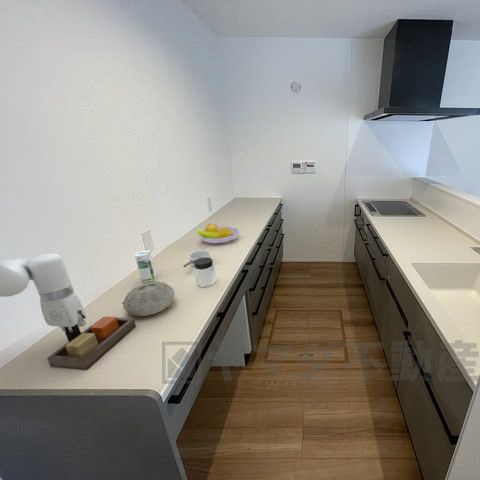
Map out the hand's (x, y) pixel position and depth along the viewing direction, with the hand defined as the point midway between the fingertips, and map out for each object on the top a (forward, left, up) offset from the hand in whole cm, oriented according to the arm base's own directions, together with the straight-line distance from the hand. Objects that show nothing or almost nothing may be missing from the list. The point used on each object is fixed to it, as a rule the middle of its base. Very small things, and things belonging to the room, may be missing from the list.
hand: (75, 338), depth 89 cm
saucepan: (+9, +60, -2) cm, 60 cm away
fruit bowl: (+2, +101, -2) cm, 101 cm away
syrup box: (-7, +44, -2) cm, 44 cm away
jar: (+23, +44, -2) cm, 50 cm away
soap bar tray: (+8, 0, -2) cm, 8 cm away
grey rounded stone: (+11, +22, -2) cm, 25 cm away
